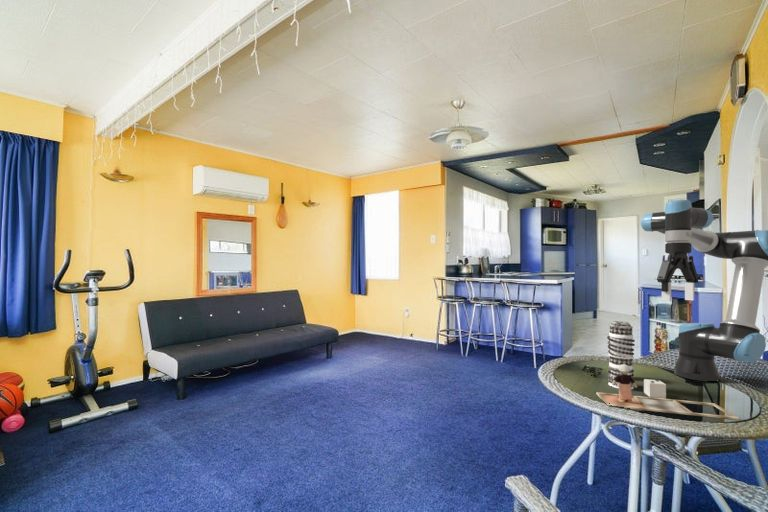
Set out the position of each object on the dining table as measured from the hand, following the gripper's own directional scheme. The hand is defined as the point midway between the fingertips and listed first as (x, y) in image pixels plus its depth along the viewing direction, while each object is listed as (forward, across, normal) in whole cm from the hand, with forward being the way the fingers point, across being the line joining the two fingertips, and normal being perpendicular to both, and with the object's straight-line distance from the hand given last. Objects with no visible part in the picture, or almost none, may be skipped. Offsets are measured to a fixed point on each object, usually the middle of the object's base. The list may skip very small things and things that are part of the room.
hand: (678, 300), depth 134 cm
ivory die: (+35, -7, +4) cm, 36 cm away
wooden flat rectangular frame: (+35, -16, -4) cm, 38 cm away
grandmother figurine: (+35, -25, +3) cm, 43 cm away
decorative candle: (+35, -9, +15) cm, 39 cm away
